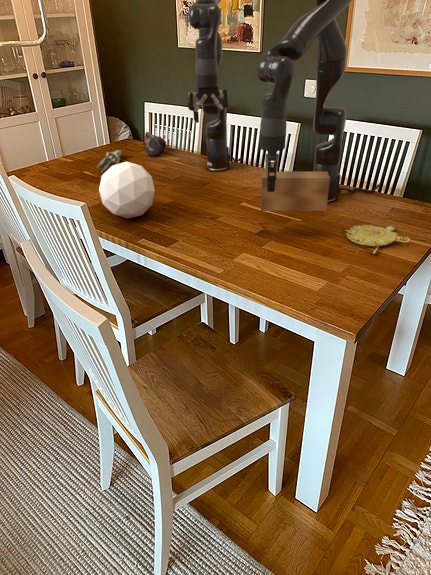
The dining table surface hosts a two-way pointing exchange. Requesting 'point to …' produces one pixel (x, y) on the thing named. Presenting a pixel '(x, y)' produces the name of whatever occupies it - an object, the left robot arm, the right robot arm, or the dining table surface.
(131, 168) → the sphere
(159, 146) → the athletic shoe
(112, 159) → the figurine
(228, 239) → the dining table surface
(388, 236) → the decorative object
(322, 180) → the box
